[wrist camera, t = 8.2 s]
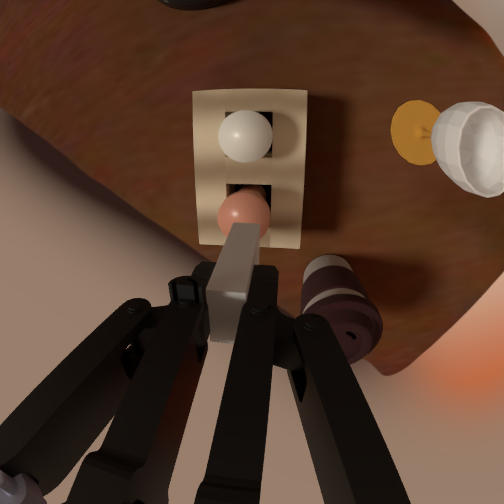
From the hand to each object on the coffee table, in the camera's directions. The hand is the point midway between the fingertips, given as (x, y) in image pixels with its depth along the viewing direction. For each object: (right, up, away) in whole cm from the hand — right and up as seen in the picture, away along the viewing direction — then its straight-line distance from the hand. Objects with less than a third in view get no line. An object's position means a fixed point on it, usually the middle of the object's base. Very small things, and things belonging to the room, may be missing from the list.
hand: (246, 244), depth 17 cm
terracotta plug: (0, +6, +19) cm, 20 cm away
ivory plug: (0, +14, +17) cm, 22 cm away
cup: (+23, +15, +15) cm, 31 cm away
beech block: (+1, +11, +19) cm, 22 cm away
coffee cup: (+12, -4, +26) cm, 28 cm away
